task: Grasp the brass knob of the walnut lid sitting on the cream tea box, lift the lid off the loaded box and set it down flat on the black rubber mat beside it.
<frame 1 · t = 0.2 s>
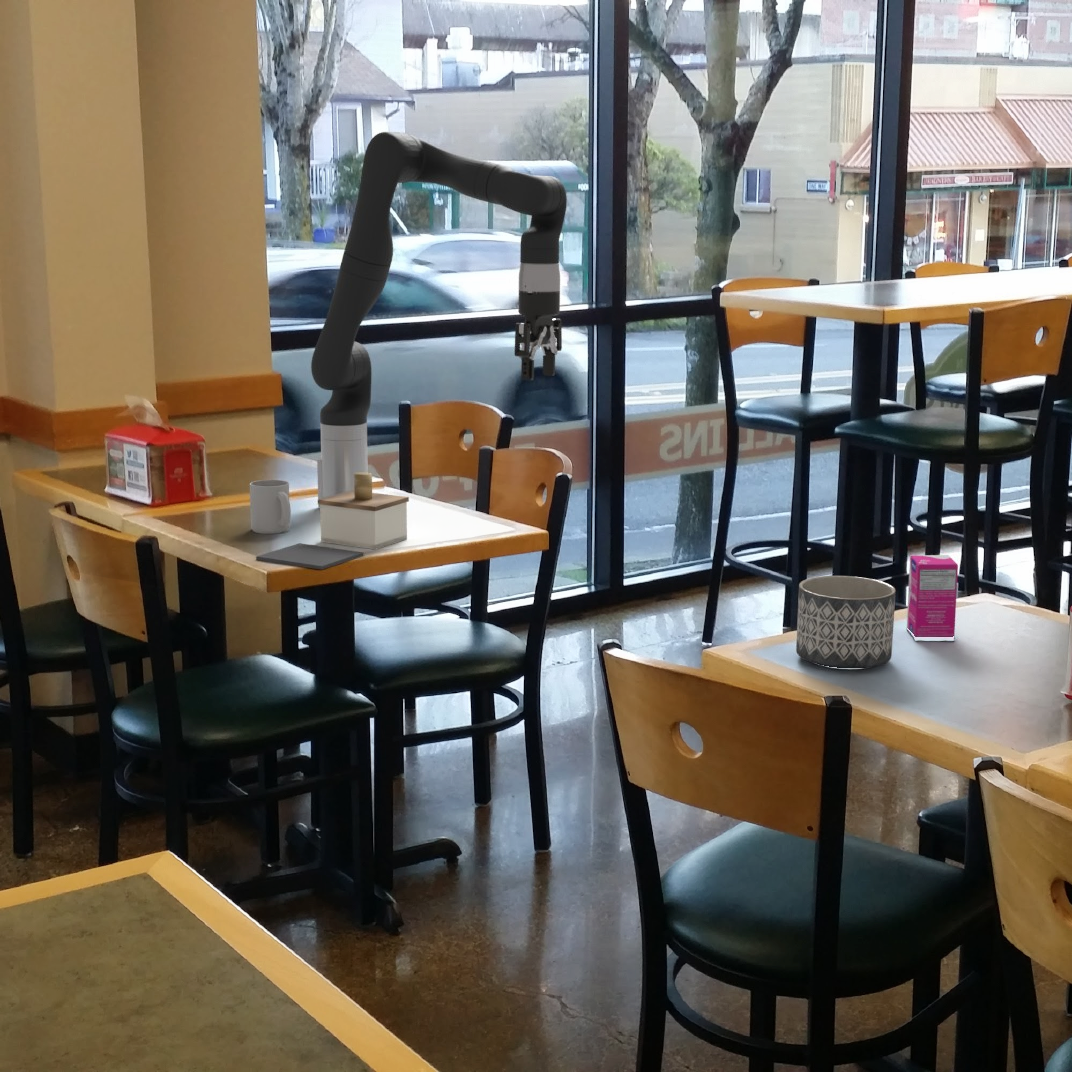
hand: (538, 377, 277), 29 cm above the table, fingers open, 8 cm apart
tea box: (364, 540, 275), on the table
lid: (363, 502, 274), point 7 cm above the table, touching tea box
planter: (843, 663, 204), on the table
supplement box: (929, 637, 216), on the table
cup: (274, 532, 282), on the table
mat: (310, 557, 261), on the table
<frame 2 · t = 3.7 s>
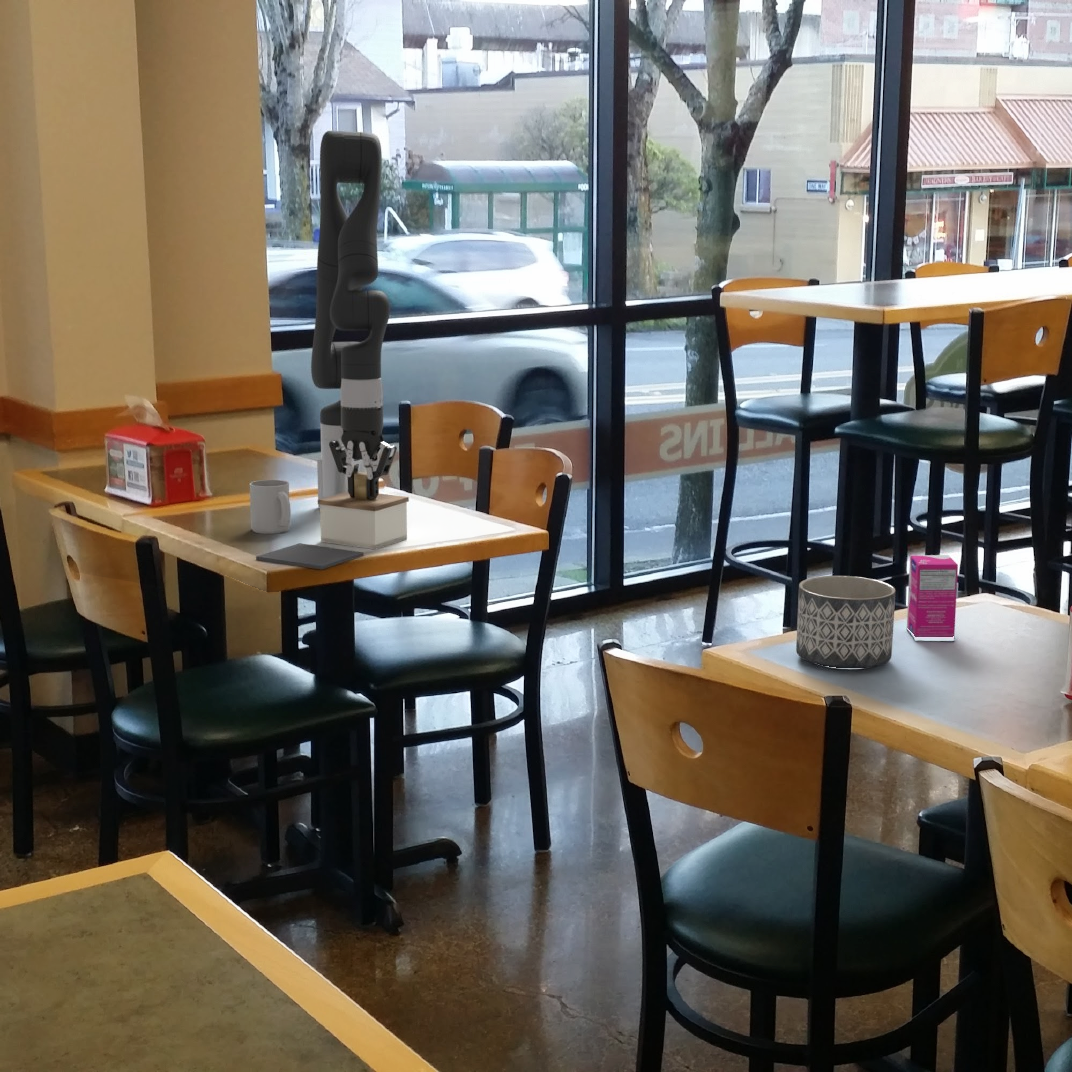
hand: (363, 497, 273), 8 cm above the table, fingers closed on lid, 3 cm apart
lid: (363, 502, 274), point 7 cm above the table, touching gripper, tea box
everything else where it was.
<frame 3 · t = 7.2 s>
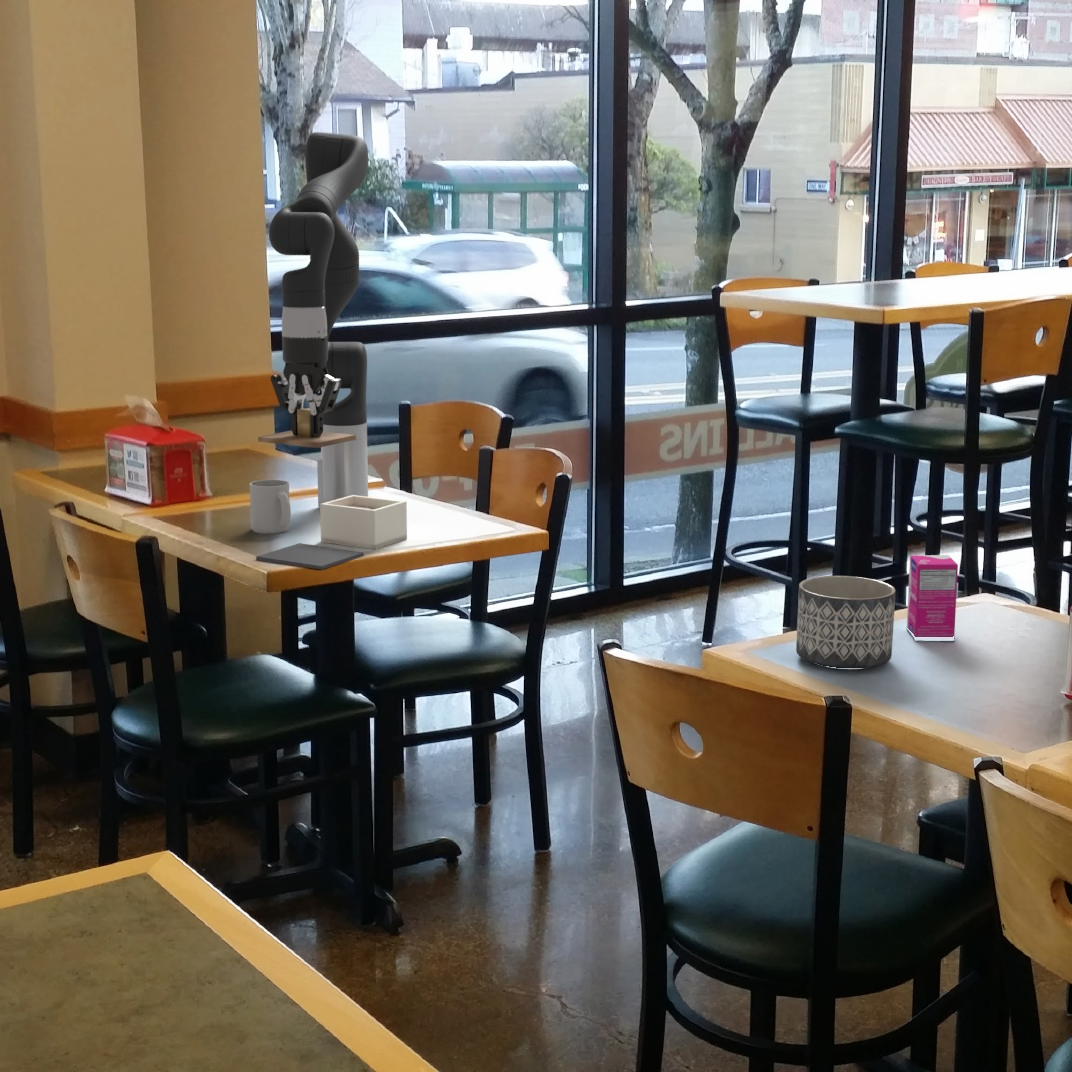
hand: (307, 435, 257), 21 cm above the table, fingers closed on lid, 3 cm apart
lid: (307, 440, 257), point 20 cm above the table, touching gripper
everything else where it was.
when the fingers open (3 cm above the table, at t = 10.7 s): lid drops 1 cm, resting on mat.
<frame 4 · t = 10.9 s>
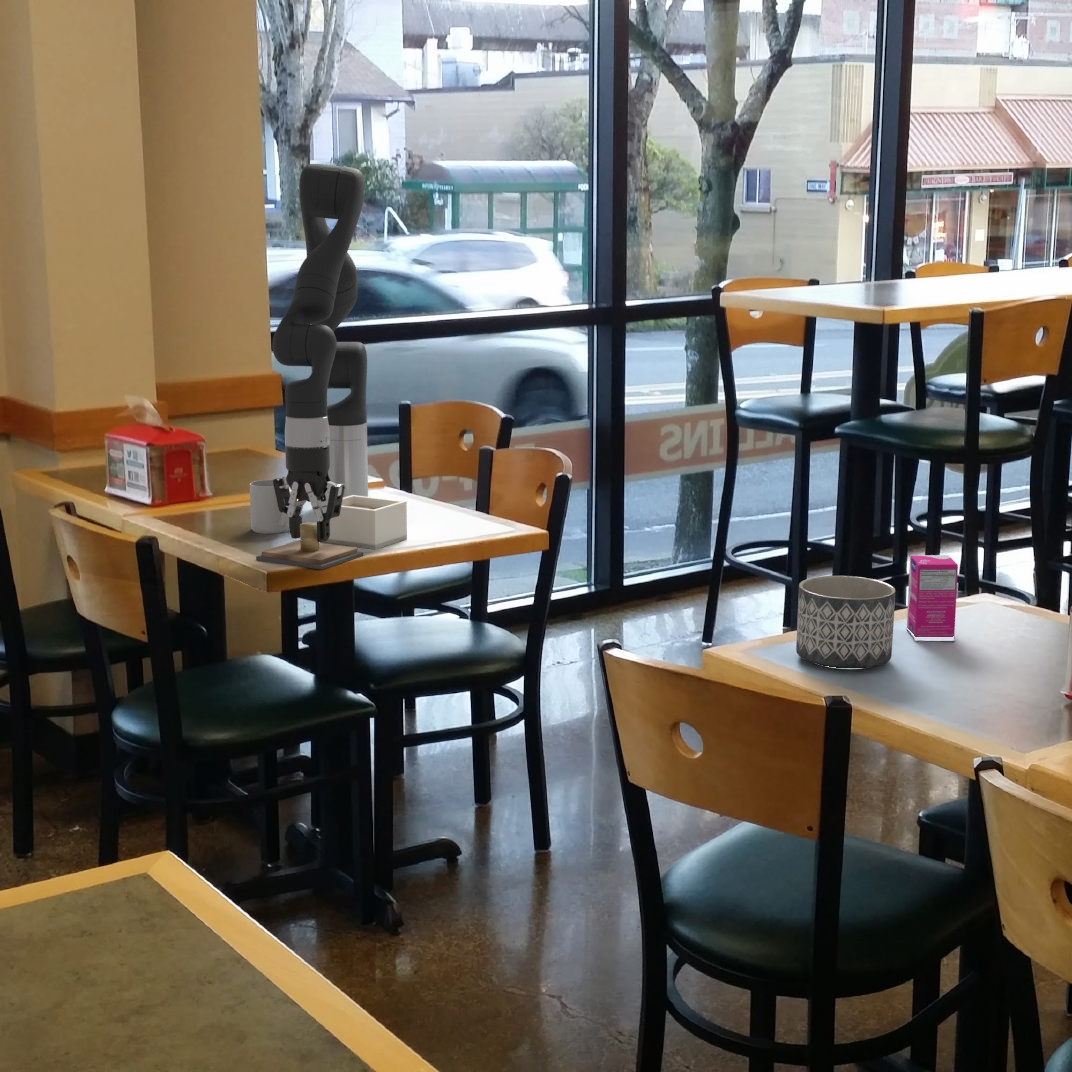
hand: (309, 539, 261), 3 cm above the table, fingers open, 5 cm apart
lid: (310, 554, 261), point 1 cm above the table, touching mat
everything else where it was.
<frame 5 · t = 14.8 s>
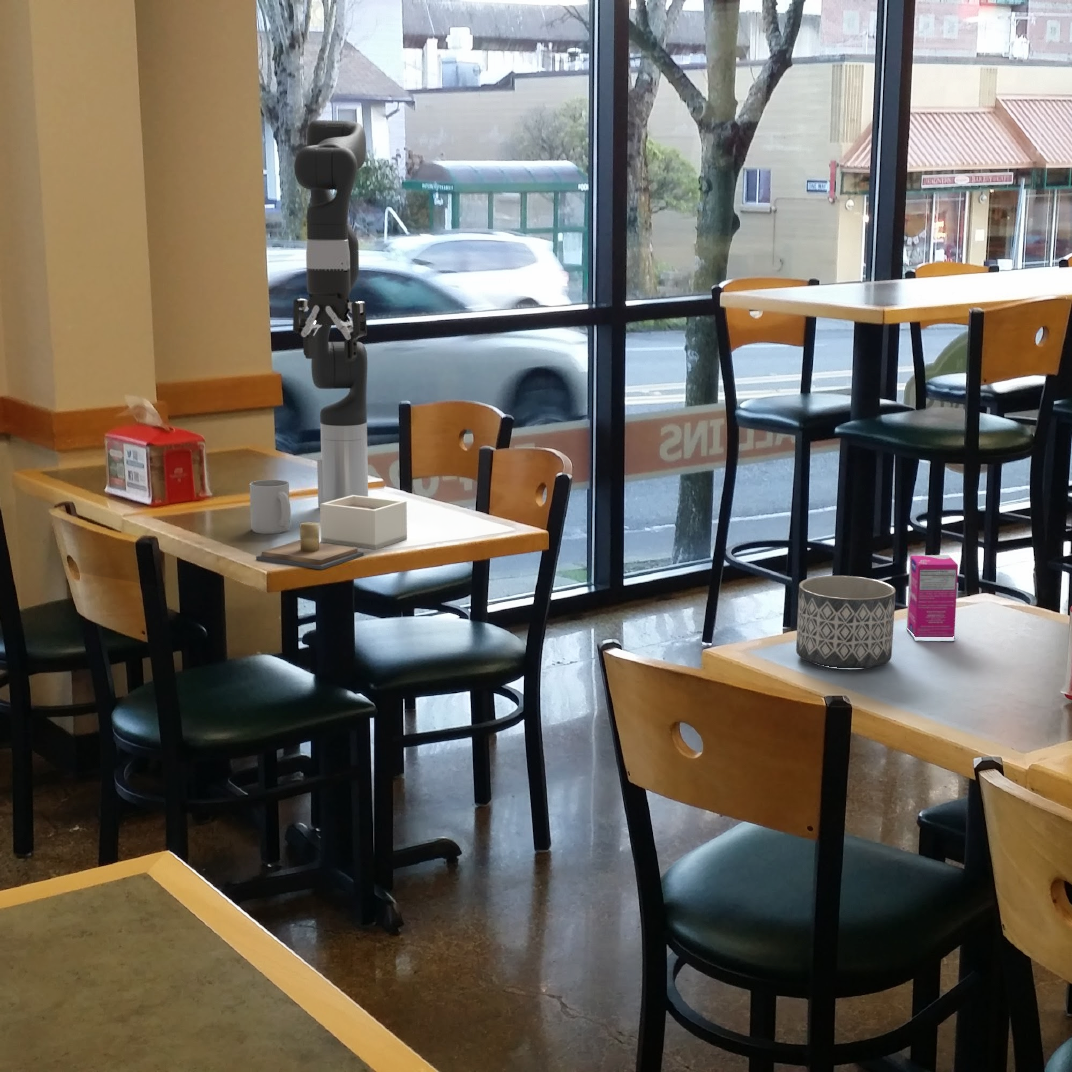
hand: (330, 359, 265), 33 cm above the table, fingers open, 8 cm apart
nothing on the table moved.
at the end: lid inside the target area on the mat (0.1 cm from its centre), point 0.6 cm above the mat's base; lid tilted 0°; lid touching mat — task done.
